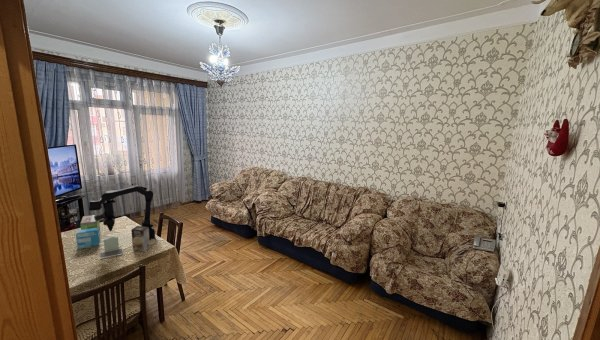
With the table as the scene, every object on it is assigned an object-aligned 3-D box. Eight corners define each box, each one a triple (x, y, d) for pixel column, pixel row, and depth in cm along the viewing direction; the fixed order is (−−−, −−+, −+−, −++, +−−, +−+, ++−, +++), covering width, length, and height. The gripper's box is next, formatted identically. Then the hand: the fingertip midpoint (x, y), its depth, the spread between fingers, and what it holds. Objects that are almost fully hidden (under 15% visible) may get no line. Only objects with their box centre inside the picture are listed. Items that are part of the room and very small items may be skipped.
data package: (77, 249, 176) (75, 233, 174) (78, 246, 180) (76, 230, 177) (99, 245, 183) (97, 229, 181) (99, 242, 187) (98, 227, 184)
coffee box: (132, 250, 179) (130, 229, 176) (138, 245, 185) (136, 225, 182) (144, 251, 179) (143, 230, 175) (150, 246, 185) (149, 226, 182)
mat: (122, 248, 181) (122, 247, 180) (121, 255, 172) (121, 254, 172) (101, 252, 174) (101, 251, 174) (99, 259, 166) (99, 259, 166)
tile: (119, 247, 182) (117, 236, 180) (118, 248, 180) (117, 237, 178) (105, 250, 177) (103, 238, 175) (104, 251, 176) (103, 239, 174)
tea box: (99, 239, 191) (97, 221, 188) (81, 242, 185) (79, 223, 182) (100, 231, 203) (98, 213, 200) (84, 233, 198) (82, 216, 194)
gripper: (95, 206, 182) (98, 226, 185) (92, 215, 167) (95, 236, 170) (114, 203, 188) (116, 223, 192) (113, 212, 173) (115, 233, 176)
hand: (111, 228), depth 182 cm, fingers open, 8 cm apart
